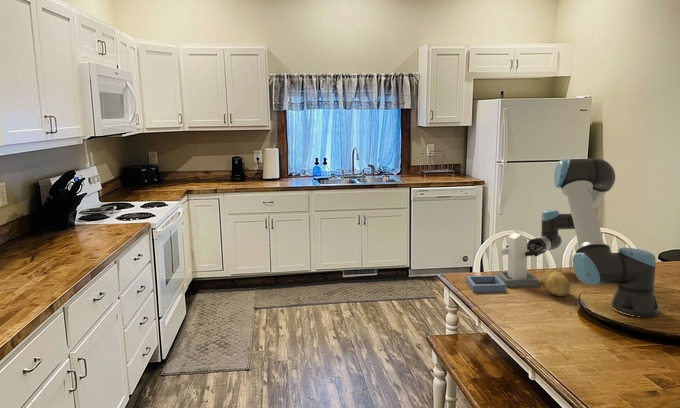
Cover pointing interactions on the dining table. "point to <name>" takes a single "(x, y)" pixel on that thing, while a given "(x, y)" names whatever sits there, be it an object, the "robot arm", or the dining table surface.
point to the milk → (517, 256)
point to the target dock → (496, 287)
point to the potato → (557, 284)
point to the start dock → (517, 280)
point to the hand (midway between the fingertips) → (511, 253)
